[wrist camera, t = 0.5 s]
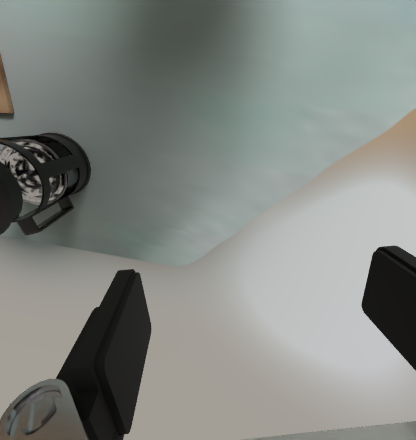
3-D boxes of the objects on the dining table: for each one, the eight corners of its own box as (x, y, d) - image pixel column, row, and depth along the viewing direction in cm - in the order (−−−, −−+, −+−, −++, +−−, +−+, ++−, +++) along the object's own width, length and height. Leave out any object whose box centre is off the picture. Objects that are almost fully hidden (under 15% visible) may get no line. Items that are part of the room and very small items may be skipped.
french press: (11, 137, 35) (-285, 160, 13) (71, 120, 34) (-134, 115, 13) (51, 210, 39) (-122, 315, 18) (105, 196, 38) (-6, 286, 17)
